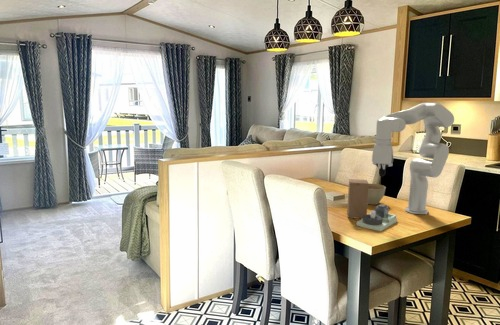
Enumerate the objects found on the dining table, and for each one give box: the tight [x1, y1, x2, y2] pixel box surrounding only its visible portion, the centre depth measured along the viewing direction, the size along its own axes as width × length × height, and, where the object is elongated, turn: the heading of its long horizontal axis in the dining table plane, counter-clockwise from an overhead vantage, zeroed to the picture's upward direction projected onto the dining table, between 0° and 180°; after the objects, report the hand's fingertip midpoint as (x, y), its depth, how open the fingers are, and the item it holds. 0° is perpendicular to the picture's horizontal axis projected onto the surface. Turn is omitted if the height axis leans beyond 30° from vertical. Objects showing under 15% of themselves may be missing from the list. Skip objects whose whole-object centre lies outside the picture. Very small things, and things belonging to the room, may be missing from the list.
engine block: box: [374, 203, 390, 218], centre depth 207 cm, size 6×5×7 cm
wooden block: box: [346, 178, 369, 219], centre depth 216 cm, size 10×10×20 cm
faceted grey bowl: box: [362, 215, 383, 225], centre depth 199 cm, size 9×9×2 cm
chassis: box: [356, 210, 398, 232], centre depth 203 cm, size 22×13×8 cm, turn 139°
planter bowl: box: [367, 182, 387, 206], centre depth 245 cm, size 16×16×11 cm
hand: (382, 176), depth 207 cm, fingers closed
